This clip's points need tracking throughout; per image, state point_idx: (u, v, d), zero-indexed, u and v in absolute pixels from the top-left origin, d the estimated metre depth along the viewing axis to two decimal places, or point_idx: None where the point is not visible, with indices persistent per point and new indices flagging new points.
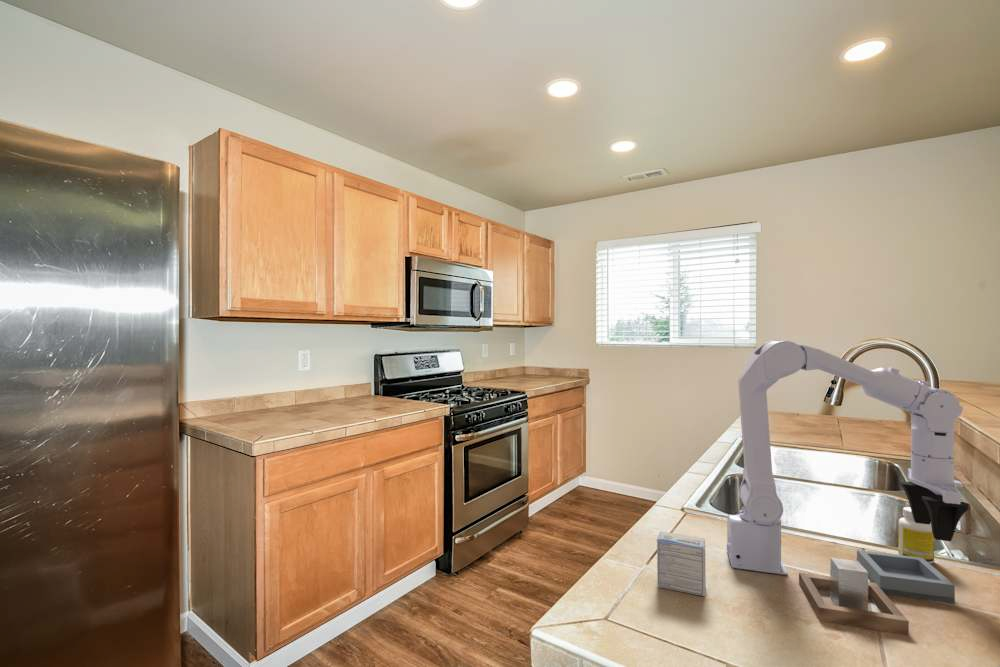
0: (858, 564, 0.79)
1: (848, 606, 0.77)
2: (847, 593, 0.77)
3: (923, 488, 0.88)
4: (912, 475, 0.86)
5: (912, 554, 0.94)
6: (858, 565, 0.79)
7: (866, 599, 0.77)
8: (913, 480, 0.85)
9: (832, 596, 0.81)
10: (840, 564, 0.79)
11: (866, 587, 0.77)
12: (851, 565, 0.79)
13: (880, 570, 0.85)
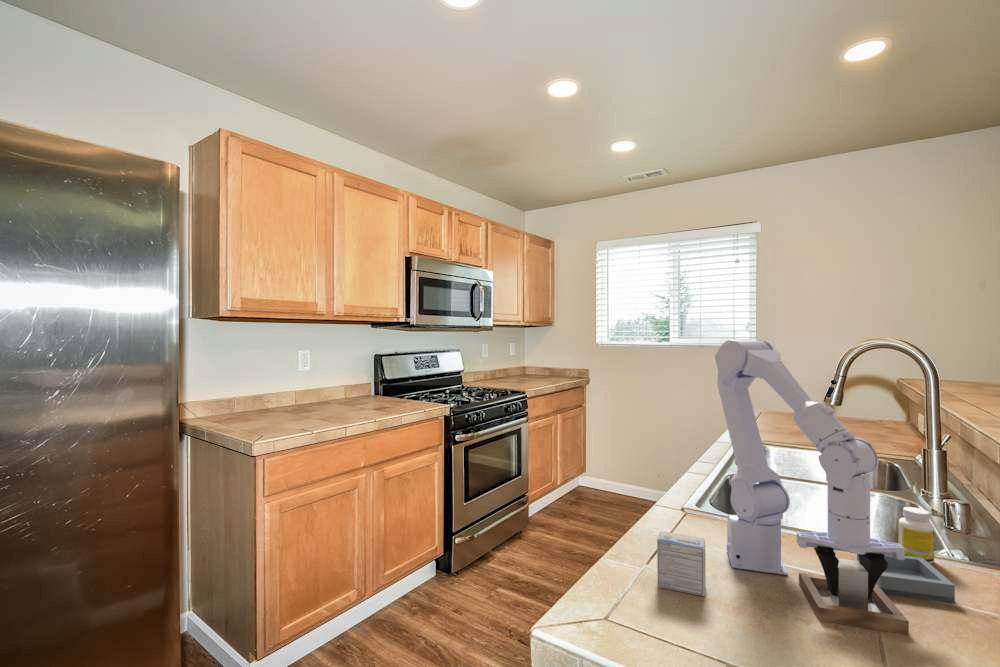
0: (858, 564, 0.79)
1: (848, 606, 0.77)
2: (847, 593, 0.77)
3: (864, 558, 0.78)
4: None
5: (912, 554, 0.94)
6: (858, 565, 0.79)
7: (866, 599, 0.77)
8: None
9: (832, 596, 0.81)
10: (840, 564, 0.79)
11: (866, 587, 0.77)
12: (851, 565, 0.79)
13: None
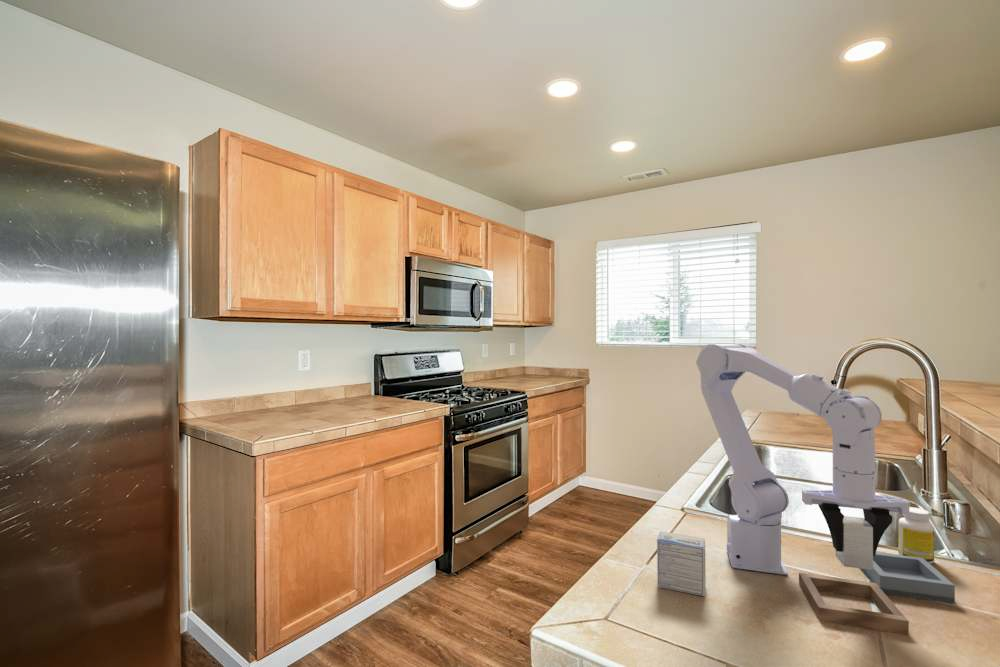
0: (863, 520, 0.80)
1: (853, 561, 0.78)
2: (852, 548, 0.78)
3: (869, 514, 0.79)
4: None
5: (912, 554, 0.94)
6: (863, 521, 0.79)
7: (871, 553, 0.77)
8: None
9: (837, 553, 0.81)
10: (845, 520, 0.80)
11: (871, 541, 0.77)
12: (856, 521, 0.79)
13: (880, 570, 0.85)
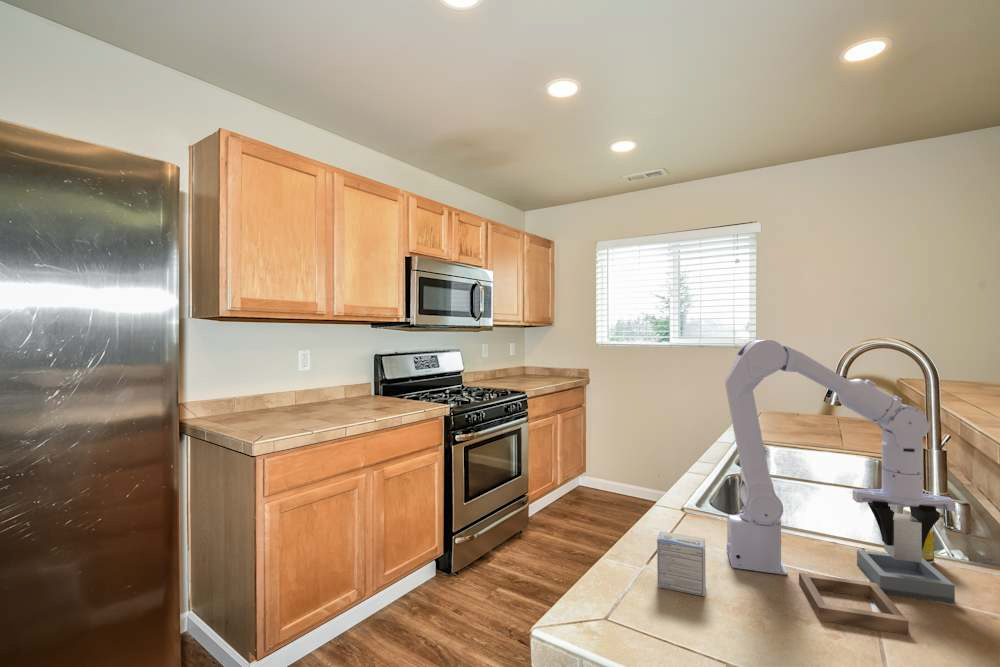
0: (911, 517, 0.86)
1: (903, 554, 0.85)
2: (902, 542, 0.85)
3: (917, 511, 0.86)
4: None
5: None
6: (911, 517, 0.86)
7: (920, 547, 0.84)
8: None
9: (886, 547, 0.88)
10: (894, 517, 0.87)
11: (920, 536, 0.84)
12: (905, 518, 0.86)
13: (880, 570, 0.85)
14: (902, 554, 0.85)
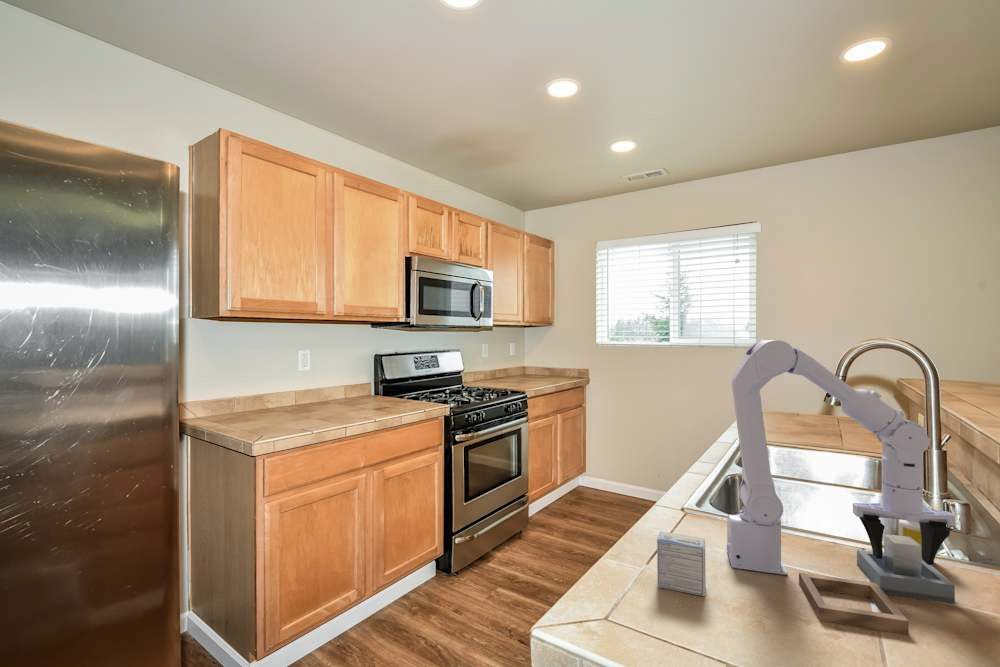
0: (911, 539, 0.86)
1: None
2: (902, 565, 0.85)
3: (927, 526, 0.85)
4: None
5: None
6: (910, 540, 0.86)
7: (920, 570, 0.84)
8: None
9: (886, 569, 0.88)
10: (894, 539, 0.87)
11: (920, 559, 0.84)
12: (905, 540, 0.86)
13: (880, 570, 0.85)
14: None
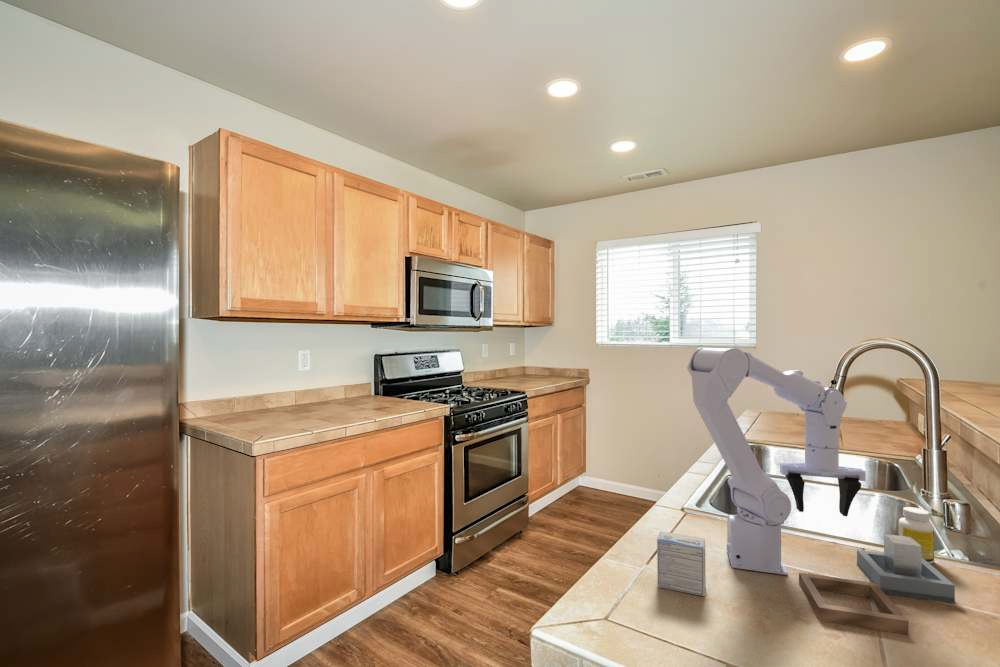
0: (911, 539, 0.86)
1: None
2: (902, 565, 0.85)
3: (843, 482, 0.96)
4: None
5: None
6: (910, 540, 0.86)
7: (920, 570, 0.84)
8: None
9: (886, 569, 0.88)
10: (894, 539, 0.87)
11: (920, 559, 0.84)
12: (905, 540, 0.86)
13: (880, 570, 0.85)
14: None
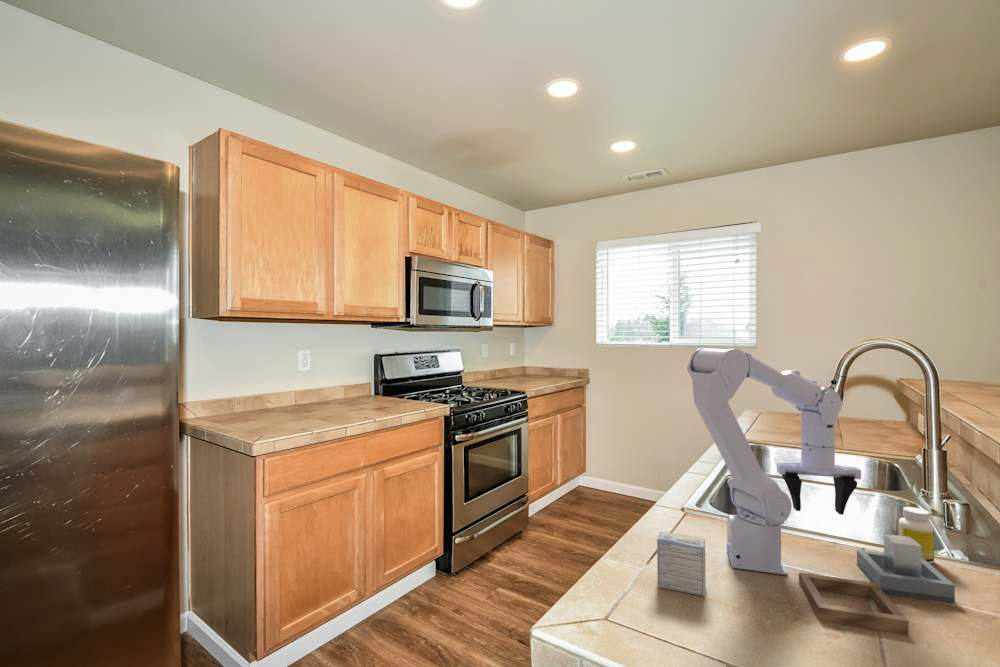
0: (911, 539, 0.86)
1: None
2: (902, 565, 0.85)
3: (839, 480, 0.96)
4: None
5: None
6: (910, 540, 0.86)
7: (920, 570, 0.84)
8: None
9: (886, 569, 0.88)
10: (894, 539, 0.87)
11: (920, 559, 0.84)
12: (905, 540, 0.86)
13: (880, 570, 0.85)
14: None
